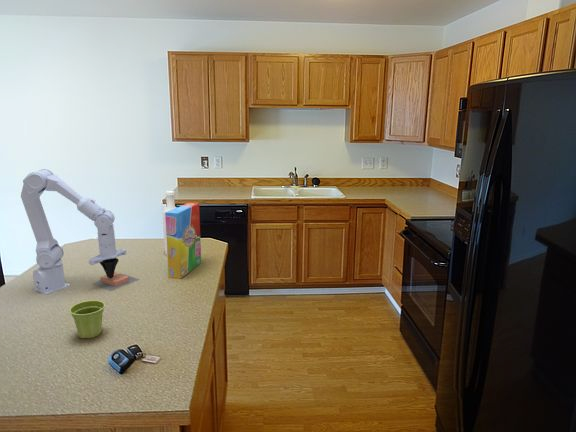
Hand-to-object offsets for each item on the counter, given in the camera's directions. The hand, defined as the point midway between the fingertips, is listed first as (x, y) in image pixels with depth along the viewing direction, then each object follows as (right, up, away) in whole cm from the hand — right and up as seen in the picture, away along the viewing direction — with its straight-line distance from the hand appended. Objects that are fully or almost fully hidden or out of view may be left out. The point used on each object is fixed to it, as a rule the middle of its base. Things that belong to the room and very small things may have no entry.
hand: (110, 277), depth 154 cm
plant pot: (+10, -12, -35) cm, 38 cm away
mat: (+1, -2, +2) cm, 4 cm away
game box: (+25, 0, +16) cm, 30 cm away
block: (-1, -2, -1) cm, 2 cm away
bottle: (+14, +5, +36) cm, 39 cm away
